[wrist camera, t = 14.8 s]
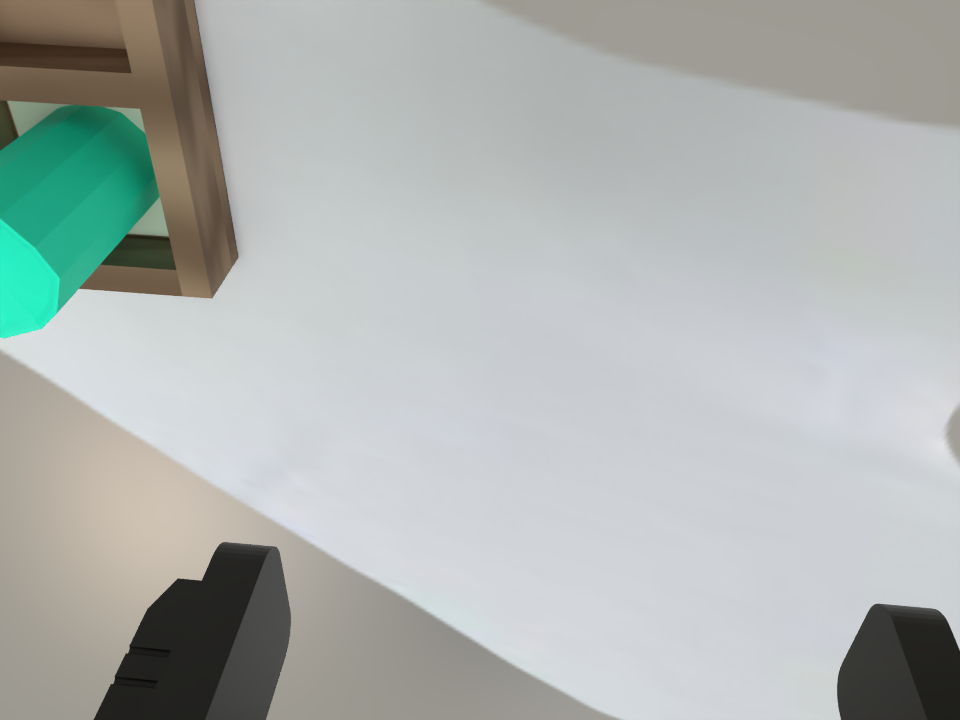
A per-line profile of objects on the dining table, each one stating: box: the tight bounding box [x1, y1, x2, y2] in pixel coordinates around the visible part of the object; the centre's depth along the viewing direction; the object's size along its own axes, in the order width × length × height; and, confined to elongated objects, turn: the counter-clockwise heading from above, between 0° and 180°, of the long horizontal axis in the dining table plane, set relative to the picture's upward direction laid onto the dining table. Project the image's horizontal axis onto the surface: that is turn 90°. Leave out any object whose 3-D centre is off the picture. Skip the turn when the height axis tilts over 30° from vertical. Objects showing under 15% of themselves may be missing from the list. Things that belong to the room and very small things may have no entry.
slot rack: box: [0, 0, 238, 298], centre depth 37 cm, size 20×11×4 cm, turn 179°
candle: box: [0, 105, 160, 338], centre depth 36 cm, size 6×6×12 cm
